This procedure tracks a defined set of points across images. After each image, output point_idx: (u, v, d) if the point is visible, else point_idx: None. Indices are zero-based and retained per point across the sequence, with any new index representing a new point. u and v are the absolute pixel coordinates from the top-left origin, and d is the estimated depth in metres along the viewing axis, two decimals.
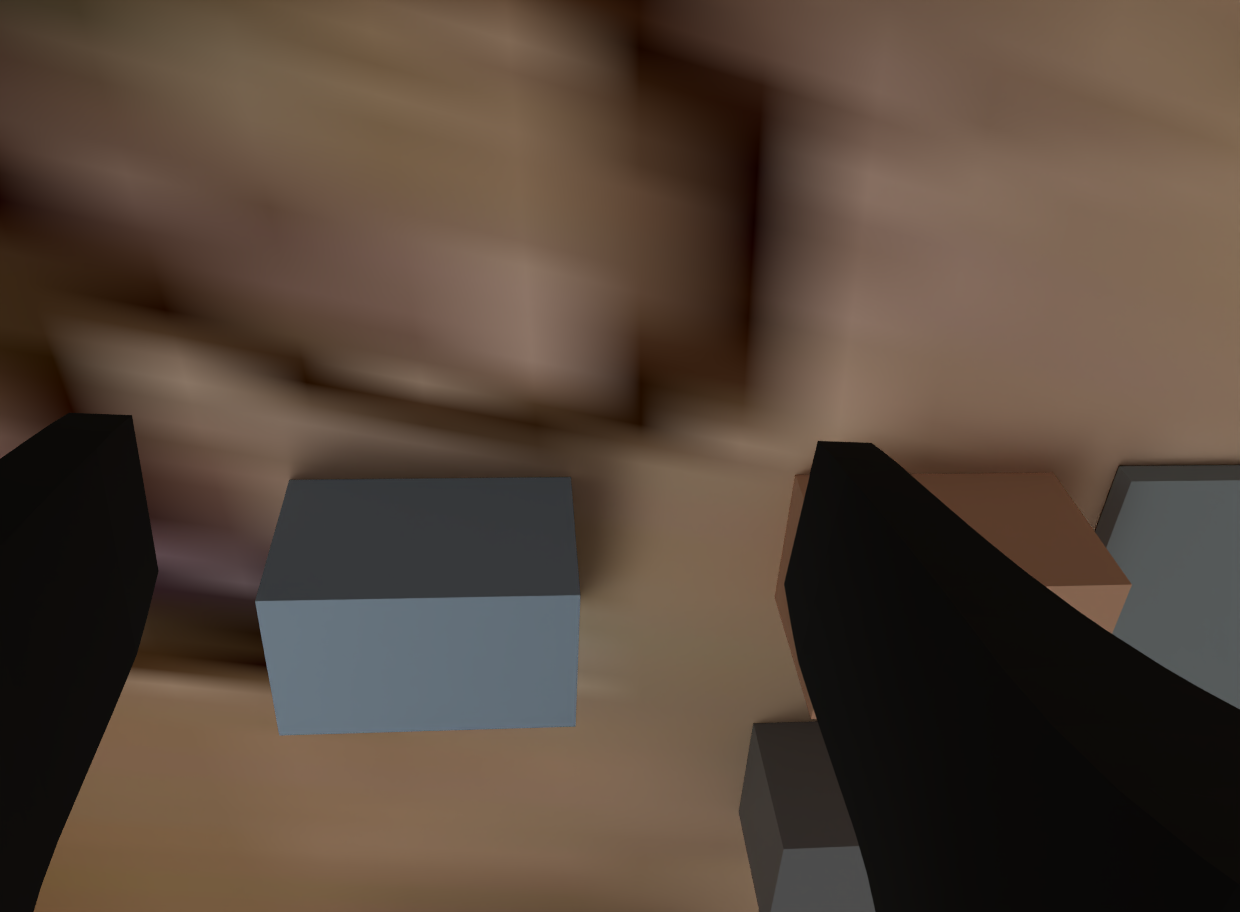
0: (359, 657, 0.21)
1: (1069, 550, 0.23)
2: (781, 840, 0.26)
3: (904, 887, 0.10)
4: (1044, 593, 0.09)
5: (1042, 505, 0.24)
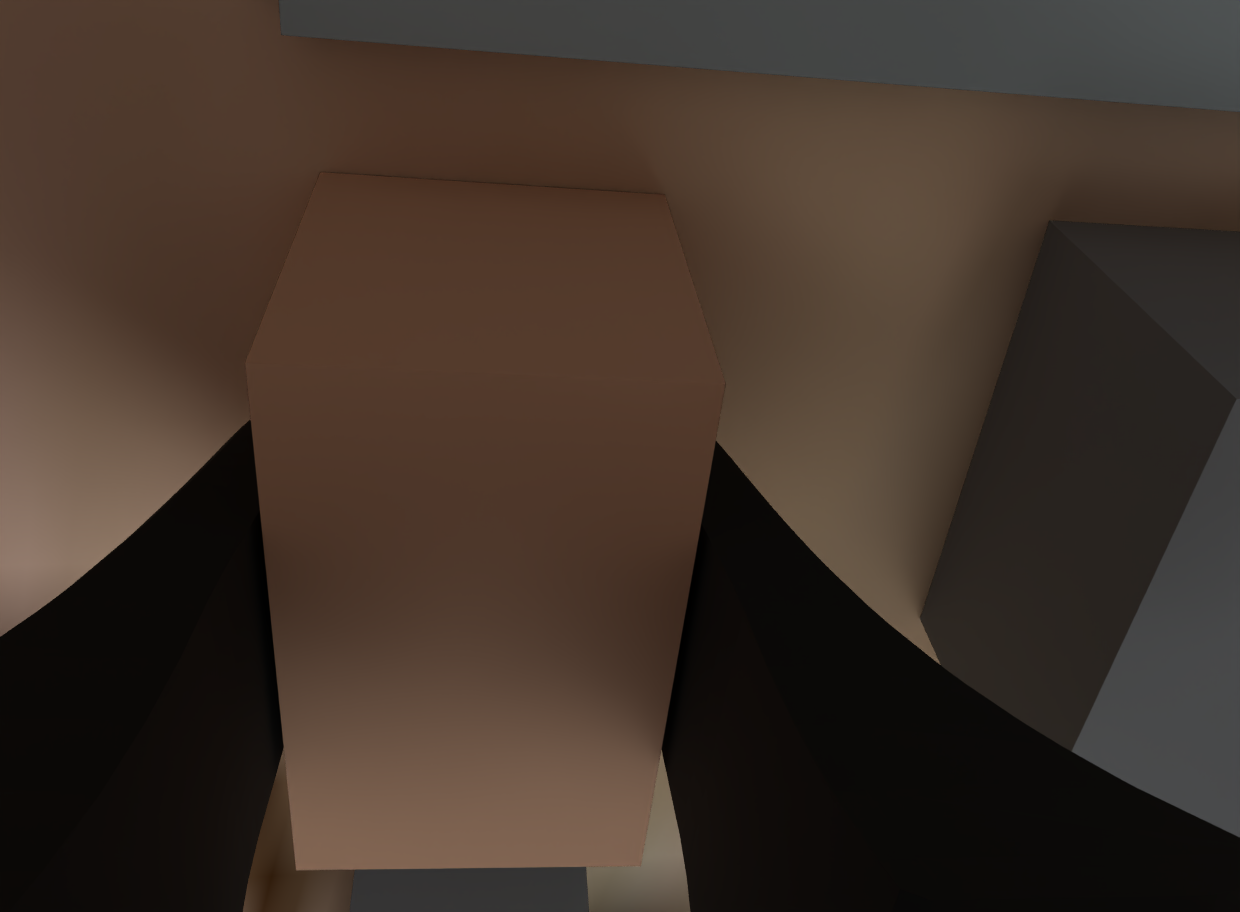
0: None
1: None
2: None
3: (707, 890, 0.09)
4: (840, 589, 0.09)
5: None
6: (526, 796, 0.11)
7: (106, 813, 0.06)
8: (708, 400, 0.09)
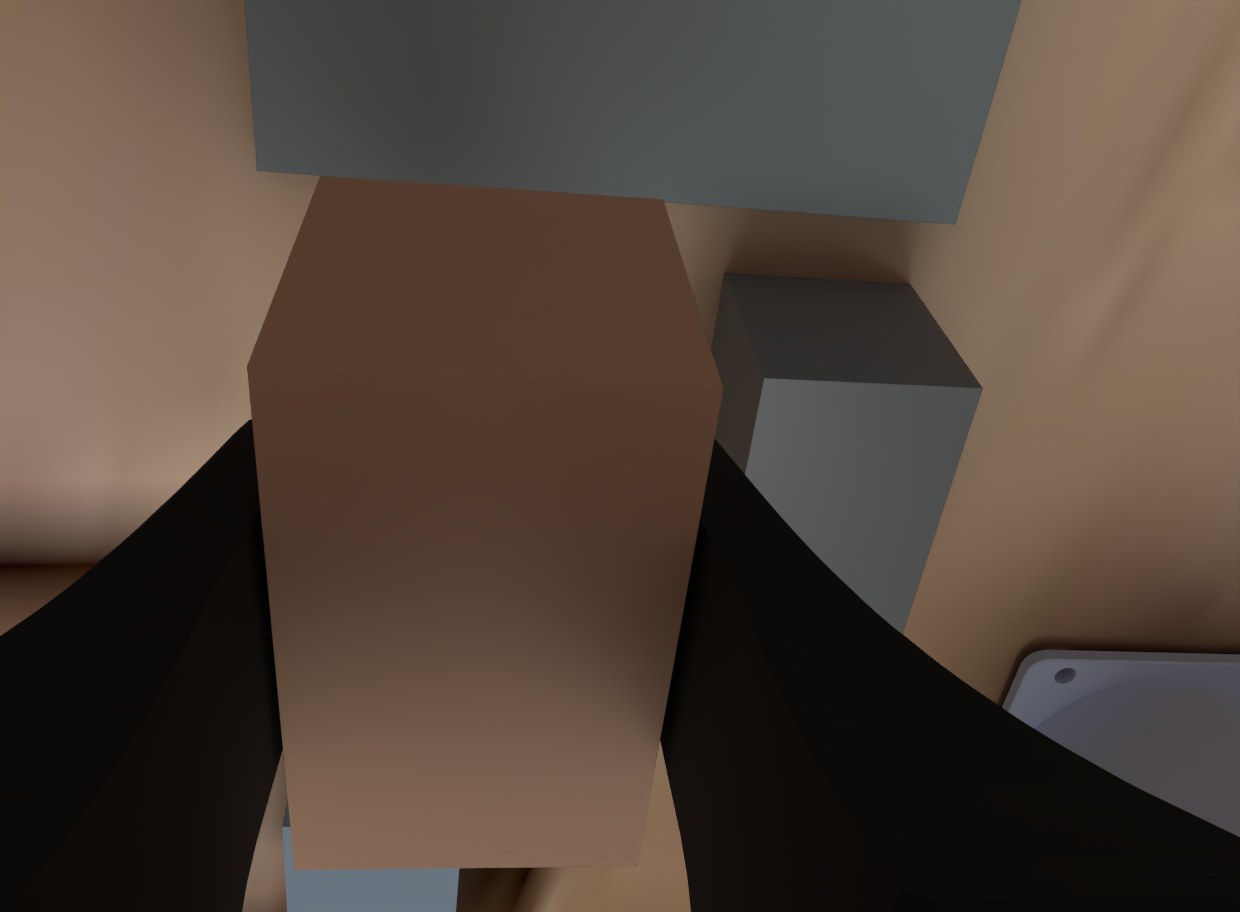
0: None
1: None
2: None
3: (708, 890, 0.09)
4: (841, 589, 0.09)
5: None
6: (523, 796, 0.11)
7: (106, 813, 0.06)
8: (706, 404, 0.09)
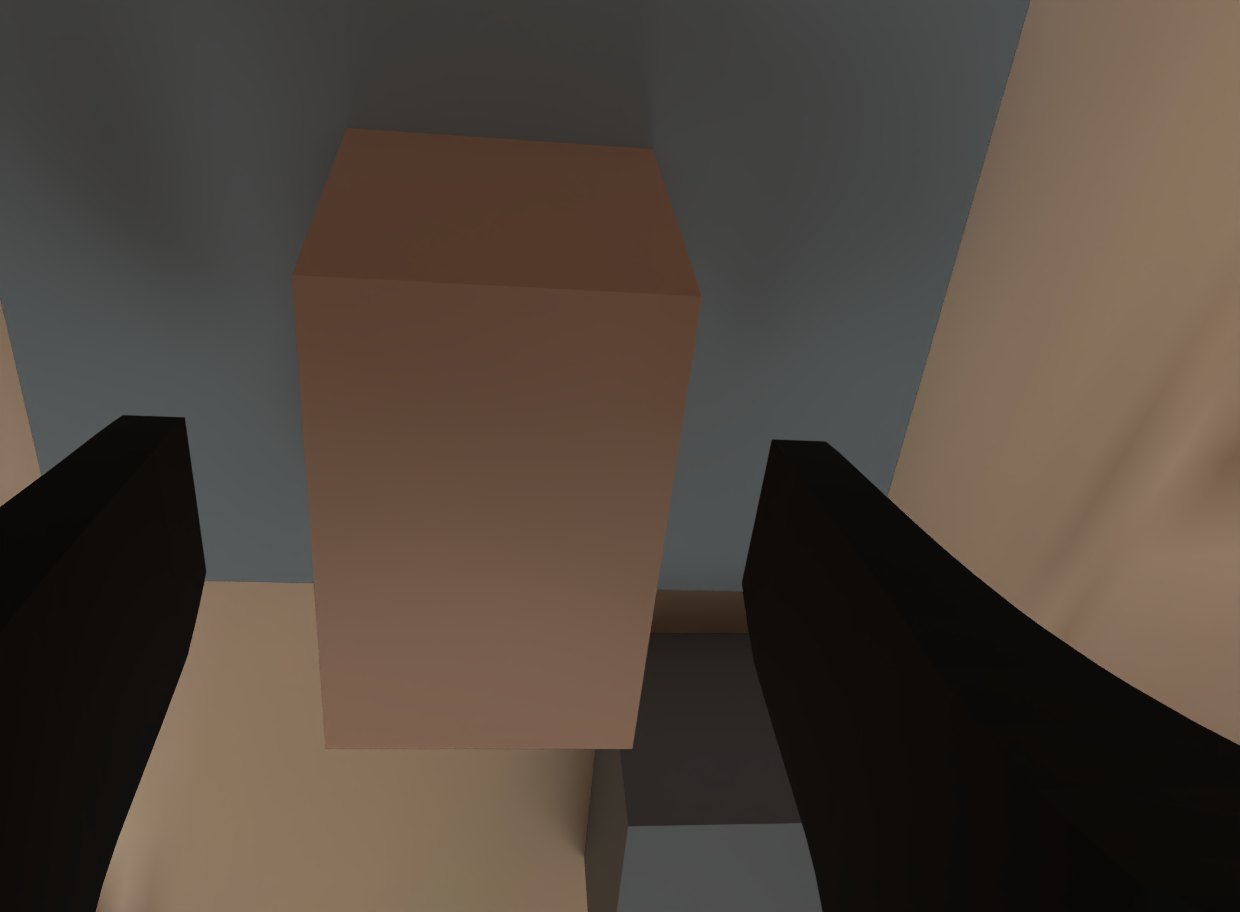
0: None
1: None
2: None
3: (848, 888, 0.10)
4: (986, 592, 0.09)
5: None
6: (530, 680, 0.13)
7: None
8: (686, 311, 0.10)
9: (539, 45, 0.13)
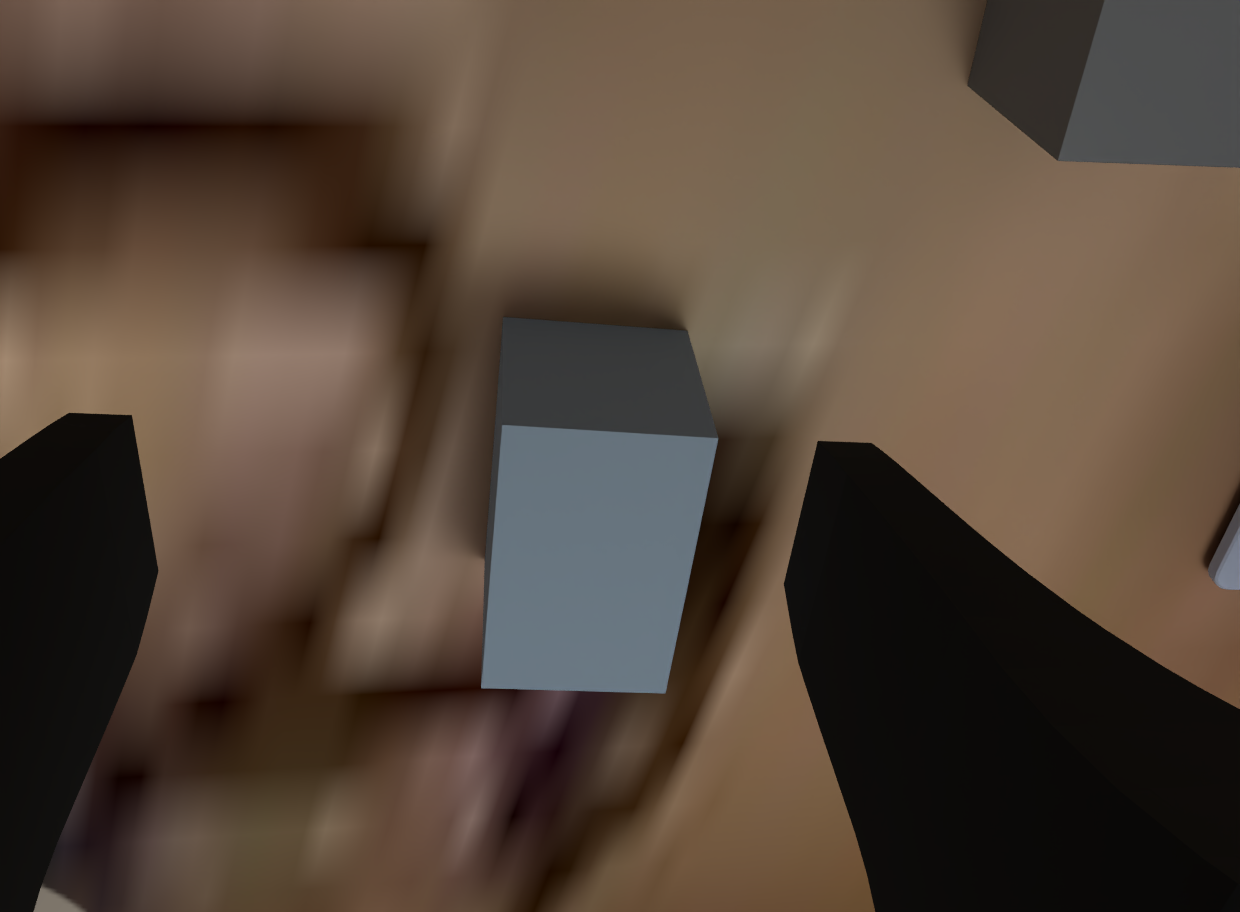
0: (567, 622, 0.21)
1: None
2: (1053, 153, 0.16)
3: (904, 887, 0.10)
4: (1044, 593, 0.09)
5: None
6: None
7: None
8: None
9: None
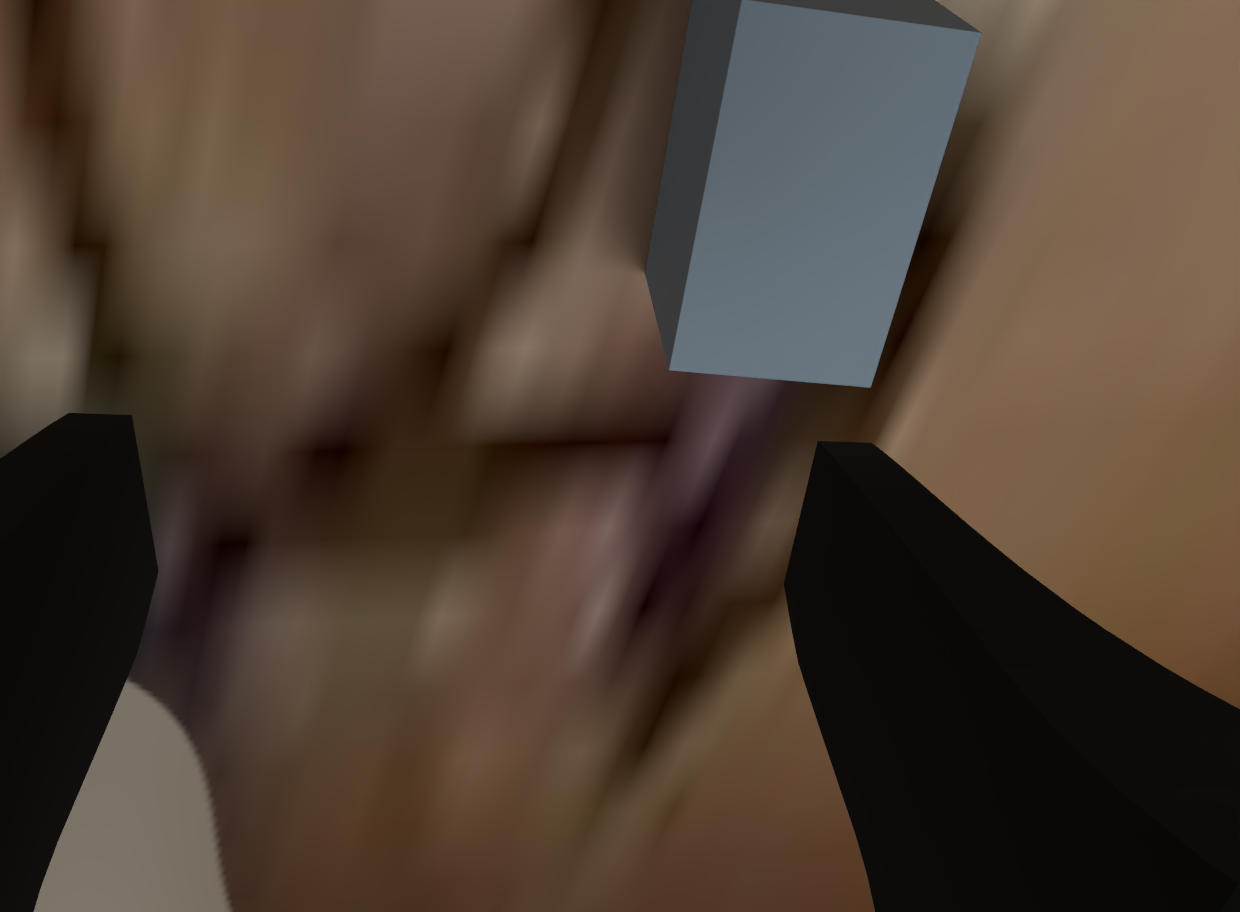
0: (777, 283, 0.18)
1: None
2: None
3: (904, 887, 0.10)
4: (1044, 593, 0.09)
5: None
6: None
7: None
8: None
9: None
